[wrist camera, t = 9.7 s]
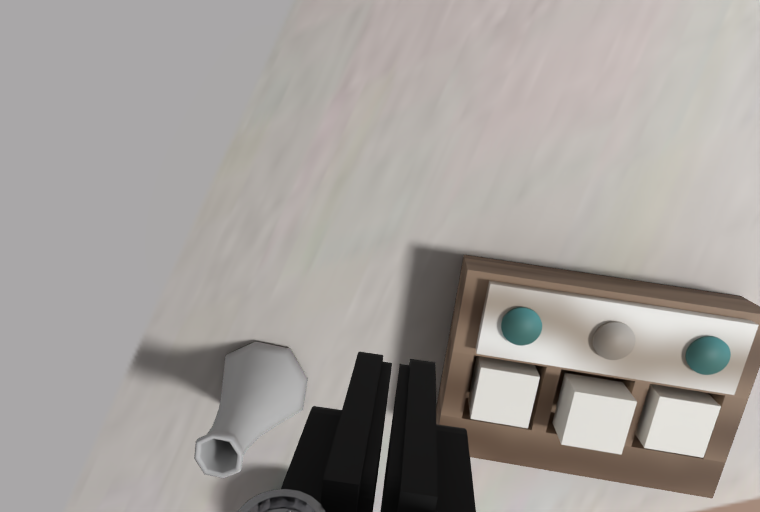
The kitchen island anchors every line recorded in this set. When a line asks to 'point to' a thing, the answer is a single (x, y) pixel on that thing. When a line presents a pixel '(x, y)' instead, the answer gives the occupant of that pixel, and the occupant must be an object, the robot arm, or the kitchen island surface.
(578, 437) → the button mid
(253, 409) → the flask
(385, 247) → the kitchen island surface
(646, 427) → the white square block
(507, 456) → the board
